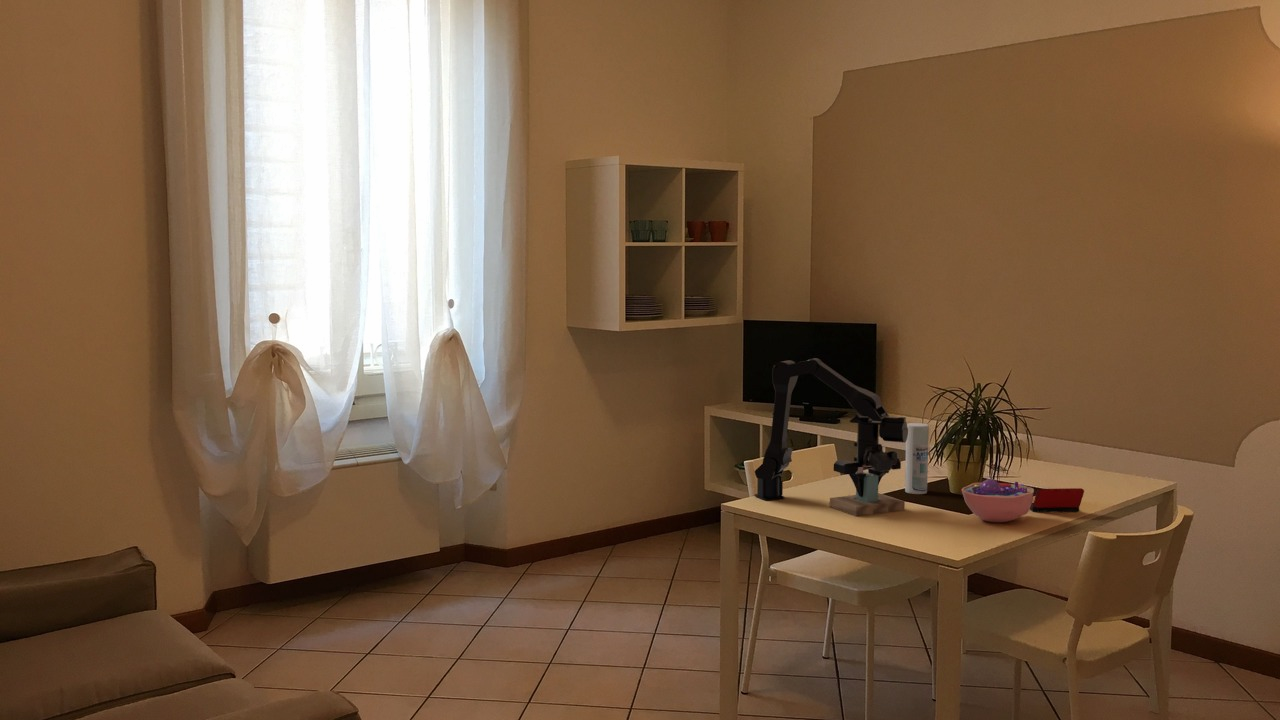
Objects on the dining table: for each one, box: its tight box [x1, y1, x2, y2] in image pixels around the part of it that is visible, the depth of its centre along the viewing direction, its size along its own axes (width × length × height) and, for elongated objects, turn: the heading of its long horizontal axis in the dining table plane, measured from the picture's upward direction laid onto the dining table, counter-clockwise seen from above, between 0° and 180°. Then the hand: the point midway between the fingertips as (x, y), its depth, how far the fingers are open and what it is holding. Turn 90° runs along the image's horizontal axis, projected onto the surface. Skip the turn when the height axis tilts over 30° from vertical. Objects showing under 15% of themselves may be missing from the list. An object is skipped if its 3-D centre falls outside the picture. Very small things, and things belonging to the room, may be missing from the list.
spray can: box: [904, 422, 930, 495], centre depth 297 cm, size 6×6×20 cm
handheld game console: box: [1029, 487, 1085, 513], centre depth 274 cm, size 12×11×7 cm
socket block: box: [829, 492, 906, 517], centre depth 277 cm, size 16×12×2 cm
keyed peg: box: [855, 470, 879, 503], centre depth 277 cm, size 5×4×8 cm
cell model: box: [961, 478, 1035, 523], centre depth 264 cm, size 17×20×11 cm
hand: (866, 496), depth 277 cm, fingers closed on keyed peg, 4 cm apart
